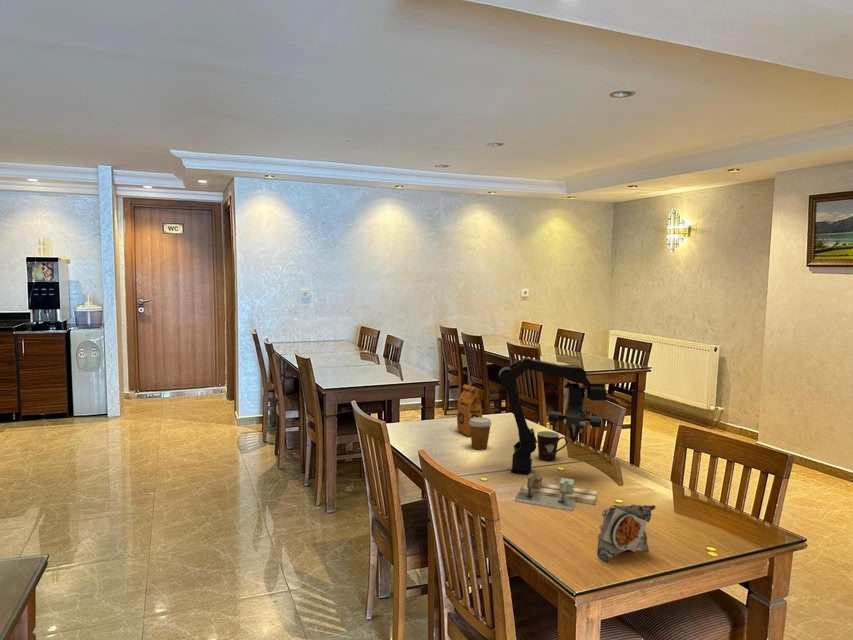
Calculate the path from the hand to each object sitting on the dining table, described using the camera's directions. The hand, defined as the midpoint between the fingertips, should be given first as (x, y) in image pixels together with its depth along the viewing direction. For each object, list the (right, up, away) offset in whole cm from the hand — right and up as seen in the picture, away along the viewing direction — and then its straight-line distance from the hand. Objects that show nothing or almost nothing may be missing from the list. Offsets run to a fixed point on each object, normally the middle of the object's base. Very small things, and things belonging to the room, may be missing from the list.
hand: (573, 442), depth 206 cm
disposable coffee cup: (-32, -9, +30) cm, 45 cm away
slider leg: (-9, -12, -23) cm, 27 cm away
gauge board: (-11, -13, -21) cm, 28 cm away
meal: (-2, -17, -59) cm, 62 cm away
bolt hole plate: (-16, -14, -26) cm, 34 cm away
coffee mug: (-5, -11, +18) cm, 21 cm away
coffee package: (-34, -8, +51) cm, 62 cm away
